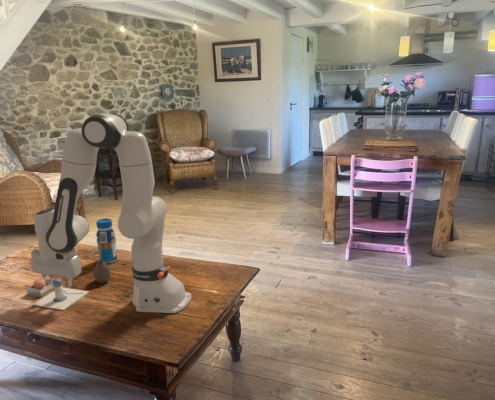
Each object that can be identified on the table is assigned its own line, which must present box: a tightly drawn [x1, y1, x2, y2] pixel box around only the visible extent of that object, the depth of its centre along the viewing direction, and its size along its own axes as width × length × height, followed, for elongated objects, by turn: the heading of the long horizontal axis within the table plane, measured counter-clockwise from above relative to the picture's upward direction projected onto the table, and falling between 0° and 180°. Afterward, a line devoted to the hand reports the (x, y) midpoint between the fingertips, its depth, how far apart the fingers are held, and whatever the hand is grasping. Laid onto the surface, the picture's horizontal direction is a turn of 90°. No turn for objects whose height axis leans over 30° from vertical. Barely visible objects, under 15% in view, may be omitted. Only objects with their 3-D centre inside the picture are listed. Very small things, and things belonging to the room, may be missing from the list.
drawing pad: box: [33, 287, 90, 312], centre depth 151 cm, size 14×14×1 cm
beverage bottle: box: [95, 218, 118, 264], centre depth 183 cm, size 8×8×20 cm
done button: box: [33, 278, 46, 289], centre depth 155 cm, size 4×4×3 cm
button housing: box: [25, 281, 54, 299], centre depth 156 cm, size 7×7×3 cm
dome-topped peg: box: [52, 277, 64, 301], centre depth 149 cm, size 3×3×8 cm
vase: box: [92, 260, 112, 284], centre depth 164 cm, size 7×7×9 cm
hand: (58, 284), depth 148 cm, fingers open, 8 cm apart
